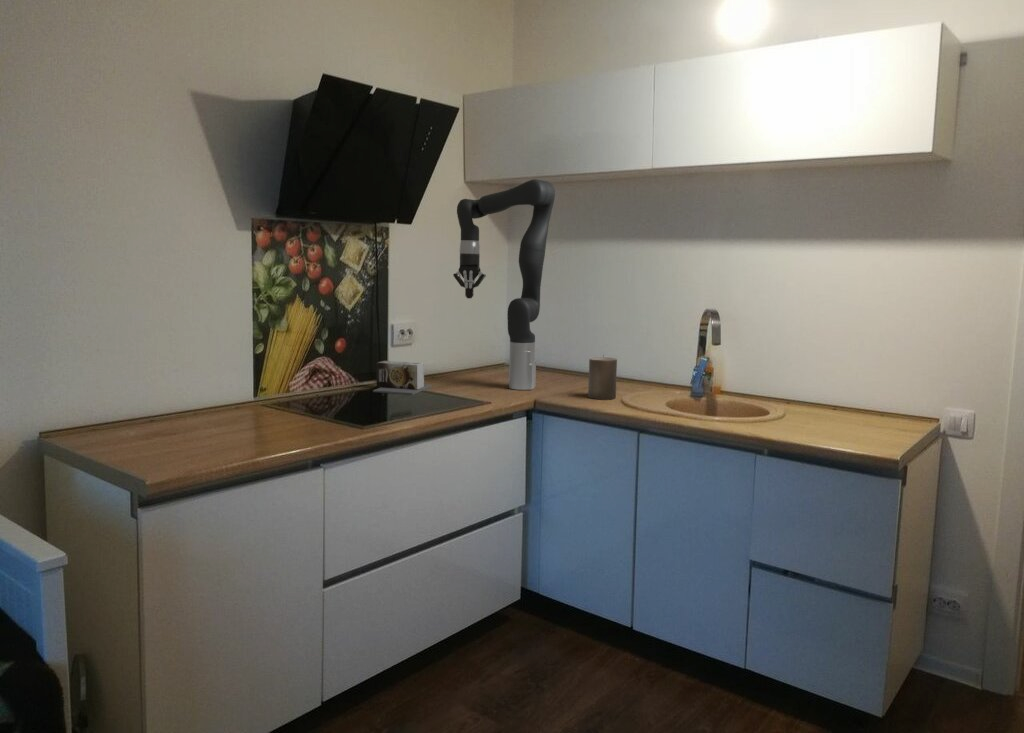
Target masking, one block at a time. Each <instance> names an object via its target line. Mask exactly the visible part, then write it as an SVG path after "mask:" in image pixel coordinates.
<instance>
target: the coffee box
mask: <svg viewBox="0 0 1024 733" xmlns="http://www.w3.org/2000/svg"><path fill="white" fill-rule="evenodd" d="M375 365H376V368H375V369H376V378H375V379H376V381H375V382H376V388H377V387H378V388H381V387H388V388H403V389H417V390H418V389H421V388H423V387H424V385H425V362H415V361H411V362H410V361H395V360H393V361H392V360H382V361H377V362H376V364H375Z"/></svg>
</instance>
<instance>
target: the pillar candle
mask: <svg viewBox="0 0 1024 733" xmlns="http://www.w3.org/2000/svg"><path fill="white" fill-rule="evenodd" d="M604 356H605V355H604V354H603V355H602V356H600V357H598V356H597V357H596V356H595V357H589V358H588V359H589V361H588V390H587V391H588V392H587V397H588V398H589V399H597V400H605V401H606V400H607V401H608V400H614V399H617V398H616V397H617V371H618V370H617V369H618V368H617V367H618V359H617V358H616V357H609V356H608V357H606V356H605V357H604Z"/></svg>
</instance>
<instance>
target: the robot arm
mask: <svg viewBox="0 0 1024 733" xmlns="http://www.w3.org/2000/svg"><path fill="white" fill-rule="evenodd" d="M555 196H556V191H555V187H554V185H553V184H552V183H551V182H549V181H547V180H542V179H535V178H534V179H529V180H527V181H526V182H523V183H521V184H519V185H517V186H514V187H511V188H509V189H506V190H503V191H498V192H494V193H490V194H486V195H483V196H481V197H480V198H479V199H470V198H463V199H461V200H459V202H458V203H457V206H456V214H457V220H458V224H459V228H460V244H459V267H458V271H457V272H456V273H453V278H454V279H455V280H456V282H457V283H458V285H459V286H460V287H462V288H464V295H465V297H466V299H473V297H474V290H475V288H477V287H479V286H480V284H482V281H483V280H484V279H485V278H486V277H487V275H486V274H485V273H483V272H482V271H481V267H480V256H481V254H480V250H481V249H480V247H481V246H480V228H479V226H478V225H477V224H475V223H474V219H475V220H476V219H481V218H483V217H485V216H487V215H492V214H493V215H494V214H496V213H497V214H498V213H501V212H503V211H505V210H508V209H509V208H512V207H515V206H533V212H532V217H531V220H530V224H529V225H528V228H527V229H526V231H525V232H524V234H523V236H522V239H521V240H520V245H519V253H518V266H519V271H520V274H521V278H522V290H521V296H520V298H519V297H517V298H514V299H512V300H511V301H510V303H509V305H508V306H507V332H508V336H509V365H508V366H509V370H508V371H509V372H508V374H509V375H508V388H509V389H510V390H511V389H512V390H518V391H527V390H529V391H530V390H531V391H532V390H534V389H535V388H536V379H537V378H536V375H537V372H536V371H537V370H536V369H537V362H536V361H535V356H536V354H535V352H536V335H535V333H533V332H532V331H531V326H530V325H531V323H533V322H535V321H536V320H537V319H538V317H539V314H540V309H541V286H542V278H543V270H544V263H545V255H546V246H547V239H548V232H549V225H550V220H551V216H552V210H553V208H554V202H555V198H556V197H555ZM462 278H463V279H462Z"/></svg>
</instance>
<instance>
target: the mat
mask: <svg viewBox="0 0 1024 733" xmlns="http://www.w3.org/2000/svg"><path fill="white" fill-rule="evenodd" d="M429 388H432V384H424V387H423V388H421V389H418V390H417V389H403V388H388V387H378V388H376V389H373V390H372V393H381V394H383V393H384V394H396V395H397V394H399V395H412V396H413V395H416V394H417V393H420V392H423V391H425V390H427V389H429Z"/></svg>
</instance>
